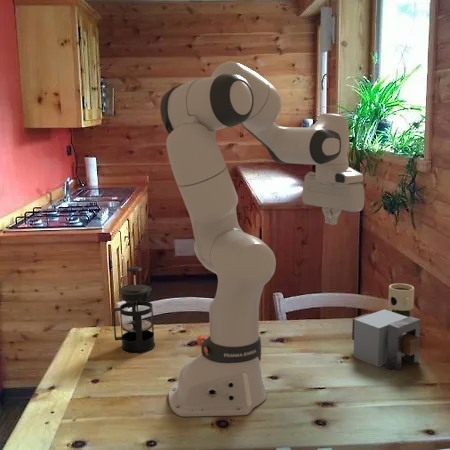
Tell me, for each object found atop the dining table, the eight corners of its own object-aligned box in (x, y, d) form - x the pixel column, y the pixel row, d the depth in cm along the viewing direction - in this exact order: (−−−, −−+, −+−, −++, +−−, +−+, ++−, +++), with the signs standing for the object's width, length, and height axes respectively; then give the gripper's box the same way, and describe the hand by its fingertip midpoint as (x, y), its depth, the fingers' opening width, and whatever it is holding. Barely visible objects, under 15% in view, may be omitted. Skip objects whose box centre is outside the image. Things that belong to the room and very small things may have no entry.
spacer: (386, 367, 147) (388, 324, 144) (408, 357, 152) (410, 316, 150) (396, 371, 144) (398, 327, 142) (418, 361, 150) (420, 319, 147)
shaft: (352, 339, 157) (352, 318, 156) (366, 334, 161) (367, 313, 159) (407, 361, 143) (408, 338, 142) (421, 354, 147) (423, 332, 145)
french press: (155, 338, 169) (151, 261, 164) (159, 351, 160) (155, 270, 155) (114, 343, 166) (109, 265, 162) (116, 356, 157) (111, 274, 153)
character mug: (382, 322, 177) (383, 281, 174) (405, 321, 177) (406, 280, 175) (394, 336, 166) (395, 293, 164) (418, 335, 167) (420, 292, 164)
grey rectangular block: (353, 356, 153) (354, 319, 151) (383, 345, 160) (384, 309, 158) (377, 367, 147) (379, 328, 145) (407, 354, 154) (409, 317, 152)
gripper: (297, 172, 165) (297, 220, 167) (352, 177, 149) (351, 230, 151) (313, 170, 168) (312, 217, 171) (368, 175, 152) (367, 227, 155)
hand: (331, 223), depth 161 cm, fingers closed
